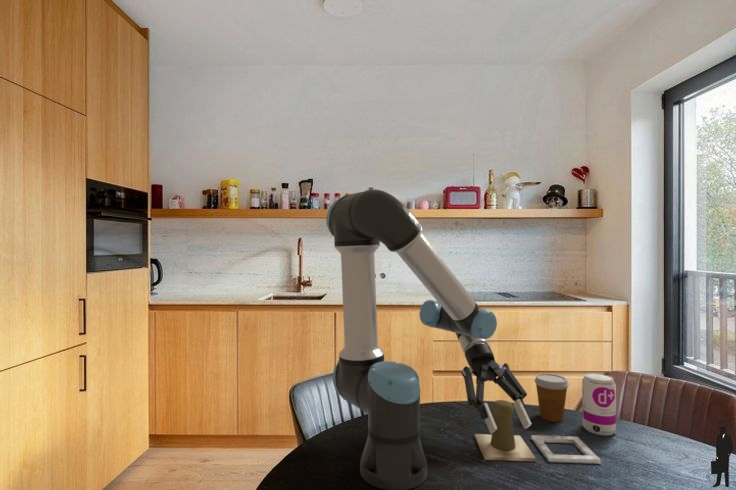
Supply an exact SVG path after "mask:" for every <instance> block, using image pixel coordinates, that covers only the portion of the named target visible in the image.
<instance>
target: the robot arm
mask: <svg viewBox="0 0 736 490" xmlns="http://www.w3.org/2000/svg"><path fill="white" fill-rule="evenodd" d="M325 221H326V227H327V230H328V231H329V233H330V234H331V235H332V236H333V240H334V241H333V243H334V249H335V250H337V252H339V254H340V263H341V264H340V266H341V267H340V268H341V285H342V287H341V288H342V289H341V291H342V311H343V312H342V313H343V316H342V318H343V334H344V337H343V340H344V347H343V348H342V349H341V350H340V351H339V353H338V361H337V363H336V365H334V369H333V372H332V384H333V387H334V390H335V391H336V392H337V394H338V395H339V396H340V397H341V398H342V399H343V400H345V401H346V402H347V403H349V404H350V405H353V406H355V407H356V408H357V409H359V410H361V411H362V412H364V414H367V415H368V416H367V417H368V419H367V420H368V421H367V422H368V423H367V425H368V426H367V428H368V429H367V430H368V432H367V433H368V435H367V438H366V442H365V445H364V447H363V451H362V453H361V454H362V455H361V457H360V463H359V474H360V477H362V479H363V480H364V482H366V483H367V484H368V485H371V486H373V487H375V488H377V489H381V490H411V489H413V488H417V487H418V486H420V485H422V484H423V483H424V482H425V481H426V479H427V477H428V464H427V462H428V461H427V458H426V456H425V453H424V449H423V445H422V443H421V439H420V418H421V416H420V414H421V413H420V412H421V410H420V408H421V387H420V386H421V385H420V377H419V374H418V372H417V371H416V370H415V369H414V368H412V367H411V366H409V365H407V364H405V363H401V362H396V361H387V360H386V361H385V352H384V351H385V350H384V349H382V348H381V346H379V344H378V343H379V341H378V339H379V337H378V336H379V335H378V314H377V290H376V289H377V288H376V287H377V286H376V267H375V266H376V264H375V263H376V262H375V252H376V251H377V250H378V248H379V247H381V244H383V245H384V247H386V248H387V250H388V251H390V252H391V253H396V254H397V255H398V256H399V258H401V260H402V261H403V262H404V263H405V264H406V266H407V267H408V268H409V269H410V270H411V272H412V273H413V274H414V275H415V277H416V278H418V280H419V281H420V282H421V284H422V285H423V286H424V287H425V288H426V289H427V290H428V292H429V293H430V294H431V295H432V297H433V298H434V299H435V300H432V299H427V300H425V301H423V303H422V305H421V306H420V310H419V319H420V322H421V324H423V325H424V326H426V327H430V328H432V329H433V328H434V329H438V330H443V331H447V332H452V333H455V335H456V337H457V340H458V342H459V344H460V347H461V349H462V352H463V354H464V357H465V359H466V362H467V365H468V366H469V367H468V366H464V367H463V369H462V370H461V371H460V373H461V375H462V378H463V380H464V386H465V393H466V398H467V404H468V405H469V406H471V407H472V406H473V407H474V408H475V410H478V413H479V416H480V418H481V419H482V420H484V421H485V424H486V427H487V428H488V432H489V435H492V433H494V432H495V431H496V430H497V426H496V424H495V421H494V416H493V414H492V412H491V410H490V407H489V404H488V403H487V402H484V394H485V382H488V381H489V382H493V383H494V384H495V385H498V387H499V388H500V389H502V391H503V392H504V393H506V395H507V396H509V398H511V400H512V401H514V402H513V403H512V405H513V408H514V410H515V412H516V414H517V416H518V418H519V421H520V422H521V424H522V425H521V426H522V427H523V429H524V430H525V429H528V428H529V427H530V426H531V425H532V424H533V423H532V422H531V420H530V417H529V415H528V414H527V412H528V408H527V406H526V403H525V402H524V399H525V398H526V397H527V395H528V393H527V392H526V390H525V389H524V387H523V385H521V383H520V382H519V381H518V379H517V377H516V376H515V374H513V372H512V370H511V368H510V366H509V364H508V363H507V362H505V363H503V364H499V363H498V362H497V361H496V360H495V355H494V352H493V351H492V348H491V346H490V345H489V341H488V339H490V338H492V336H493V335H494V334H495V332H496V330H497V326H498V321H497V317H496V314H495V313H494V312H493V311H491V310H489V309H486V308H481V307H480V306H479V305H478V303H477V302H476V301H475V300H474V298H473V296H471V294H470V293H469V292H468V290H466V288H465V286H463V284H462V283H461V281H460V280H459V279H458V277H456V275H455V273H454V272H453V271H452V270H451V268H450V267H449V266H448V265H447V264H446V262H445V261H444V260H443V258H442V257H441V256H440V255H439V253H438V252H437V250H436V249H435V248H434V246H432V244H431V243H430V241H429V240H428V239H427V238H426V236H425V235H424V234H423V232H422V230H423V227H422V226H423V225H422V224H421V223H420V221H419V220H418V219H417V218H416V217H415V214H413V212H412V211H410V210H409V209H408V207H406V205H405V204H404V203H402V201H400V200H399V199H398V198H396V197H395V196H394V195H392V194H391V193H388V192H387V191H383V190H381V189H373V188H372V189H367V190H364V191H361V192H355V193H350V194H348V193H347V194H346V195H343V196H342V197H341V196H340V197H339V198H337V199H336V200H334V201H333V202H332V204H331V205H330V206H329V207H328V210H327V213H326V219H325ZM473 375H474V376H475V377H476V379H475V380H476V381H475V384H476V388H475V385H474V380H473Z"/></svg>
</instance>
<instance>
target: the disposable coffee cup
mask: <svg viewBox="0 0 736 490" xmlns="http://www.w3.org/2000/svg"><path fill="white" fill-rule="evenodd" d="M534 383H535V385H536V387H535V388H536V392H537V400H538V401H537V402H538V409H539V416H540V418H542V419H544V420H546V421H549V422H555V423H556V422H562V421H564V413H565V407H566V406H565V405H566V398H567V393H568V388H569V385H570V383H569V382H568V379H567V378H566V377H565V376H562V375H558V374H554V373H539V374H536V375H535V379H534Z"/></svg>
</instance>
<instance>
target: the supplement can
mask: <svg viewBox="0 0 736 490" xmlns="http://www.w3.org/2000/svg"><path fill="white" fill-rule="evenodd" d="M581 381H582V382H581V385H582V386H581V389H582V390H581V395H582V396H581V399H582V400H581V401H582V402H581V404H582V405H581V406H582V410H581V411H582V413H581V414H582V415H581V416H582V418H581V420H582V421H581V423H582V427H583V428H584V429H585V430H586V431H587V432H589V433H591V434H594V435H598V436H604V437H606V436H607V437H608V436H612V435H614V434H615V433H616V432H617V393H616V391H617V389H616V388H617V384H616V383H615V381H614V378H613V377H612V376H610V375H608V374H604V373H597V372H591V373H590V372H589V373H588V372H587V373H585V374H584V376H583V378H582V379H581Z"/></svg>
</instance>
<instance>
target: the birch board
mask: <svg viewBox="0 0 736 490" xmlns="http://www.w3.org/2000/svg"><path fill="white" fill-rule="evenodd" d="M491 437H492V434H490V433H489V434H485V433H474V439H475V441H476V443H477V445H478V447H479V449H480V452H481V454H482V457H483V459H484V460H485V461H486V460H487V461H512V462H535V461H537V460H536V456H535V455H534V454H533V452H532V451H531V449H530V448H529V446H528V445H527V443H526V442H525V441H524V439H523V438H522V436H521V435H518V434H517V435H516V434H514V439H515V446H516V447H515V449H514V450H511V451H503V450H499V449H496V448H494V447H493V446H491Z"/></svg>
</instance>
